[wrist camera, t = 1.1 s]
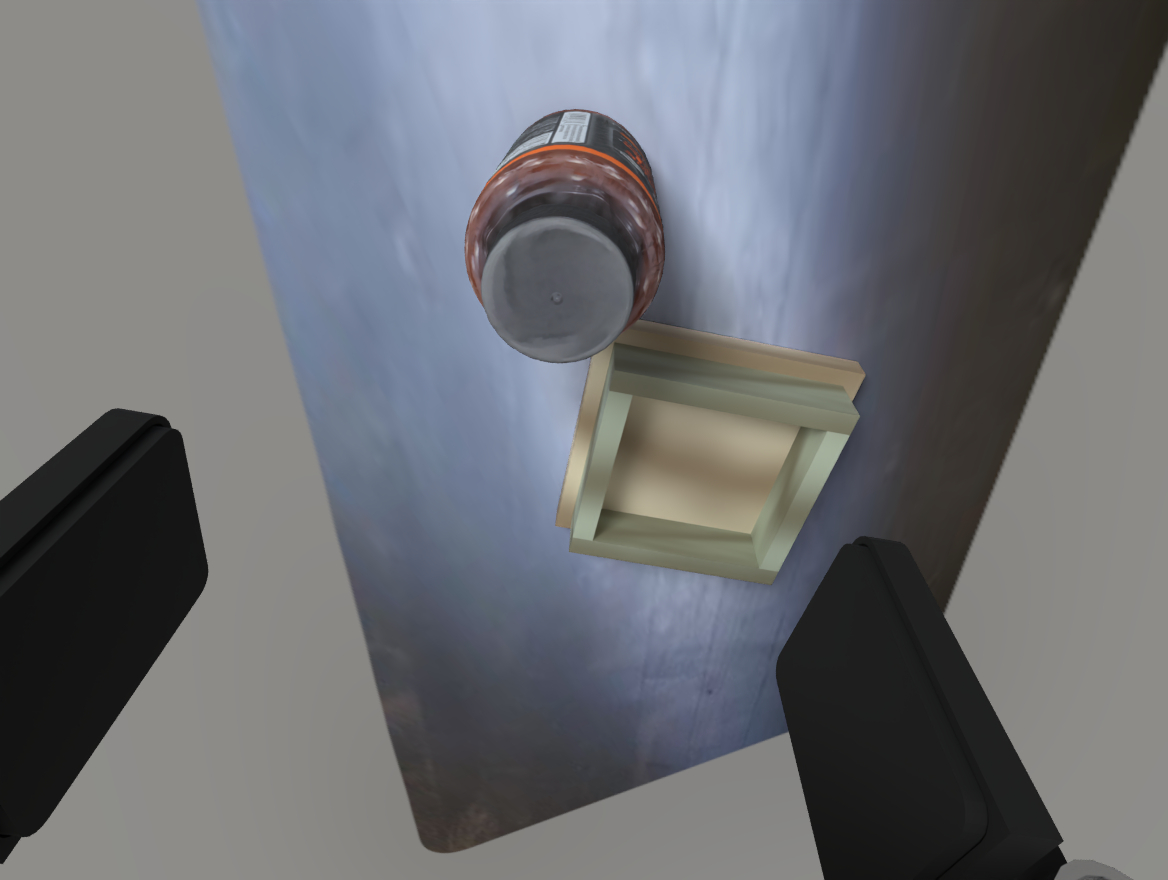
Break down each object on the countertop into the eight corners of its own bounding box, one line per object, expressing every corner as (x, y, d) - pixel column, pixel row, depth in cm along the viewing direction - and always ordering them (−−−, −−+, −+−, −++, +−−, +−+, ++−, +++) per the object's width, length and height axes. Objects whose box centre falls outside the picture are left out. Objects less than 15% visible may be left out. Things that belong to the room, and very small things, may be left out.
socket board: (601, 311, 29) (600, 350, 26) (857, 361, 30) (885, 404, 27) (557, 511, 36) (551, 559, 33) (766, 546, 37) (780, 597, 34)
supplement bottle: (674, 224, 27) (707, 353, 17) (546, 282, 28) (512, 428, 19) (616, 73, 24) (617, 132, 14) (475, 148, 25) (395, 244, 16)
